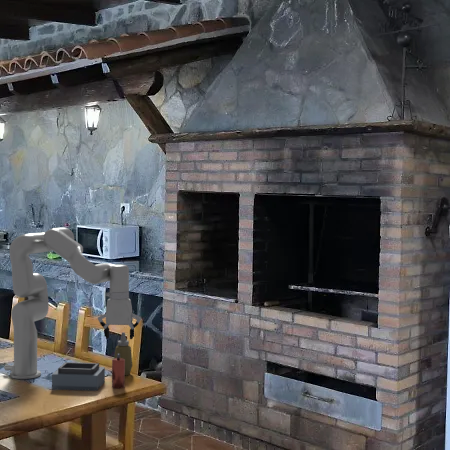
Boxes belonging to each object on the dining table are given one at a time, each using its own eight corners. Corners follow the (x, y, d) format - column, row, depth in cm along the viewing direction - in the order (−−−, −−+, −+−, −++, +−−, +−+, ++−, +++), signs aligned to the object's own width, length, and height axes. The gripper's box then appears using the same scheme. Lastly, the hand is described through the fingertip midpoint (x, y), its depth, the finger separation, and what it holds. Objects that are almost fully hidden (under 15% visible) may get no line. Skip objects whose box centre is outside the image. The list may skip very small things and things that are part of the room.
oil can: (110, 388, 281) (110, 355, 280) (113, 384, 286) (113, 352, 285) (123, 388, 280) (123, 355, 280) (125, 385, 285) (126, 352, 285)
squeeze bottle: (128, 377, 297) (129, 335, 296) (110, 376, 299) (110, 333, 298) (135, 372, 305) (135, 331, 304) (117, 371, 307) (117, 330, 306)
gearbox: (51, 389, 278) (51, 369, 278) (61, 380, 291) (61, 361, 291) (97, 390, 277) (97, 370, 277) (104, 381, 290) (104, 362, 290)
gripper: (95, 296, 278) (95, 340, 279) (139, 297, 277) (139, 340, 278) (100, 294, 285) (100, 336, 286) (142, 294, 284) (142, 336, 285)
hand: (119, 338), depth 282 cm, fingers open, 9 cm apart
